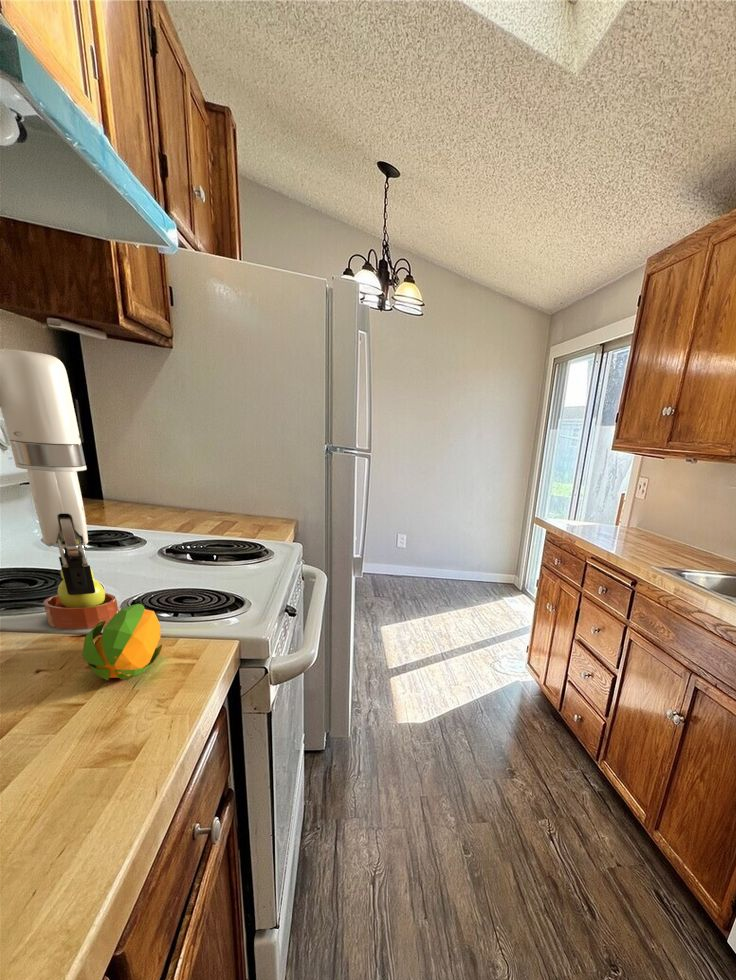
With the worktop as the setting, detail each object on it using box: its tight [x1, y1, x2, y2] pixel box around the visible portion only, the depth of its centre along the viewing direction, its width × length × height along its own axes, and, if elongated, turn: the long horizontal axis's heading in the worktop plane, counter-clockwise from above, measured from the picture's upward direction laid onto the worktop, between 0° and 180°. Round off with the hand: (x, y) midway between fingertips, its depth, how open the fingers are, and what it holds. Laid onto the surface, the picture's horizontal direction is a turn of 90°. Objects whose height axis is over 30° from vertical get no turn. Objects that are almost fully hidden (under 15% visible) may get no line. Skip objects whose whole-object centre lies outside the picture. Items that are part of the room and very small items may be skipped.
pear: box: [57, 566, 106, 608], centre depth 82 cm, size 6×6×9 cm
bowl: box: [43, 592, 120, 638], centre depth 83 cm, size 9×9×4 cm
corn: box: [82, 603, 163, 681], centre depth 74 cm, size 7×8×20 cm
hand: (79, 586), depth 82 cm, fingers closed on pear, 5 cm apart
